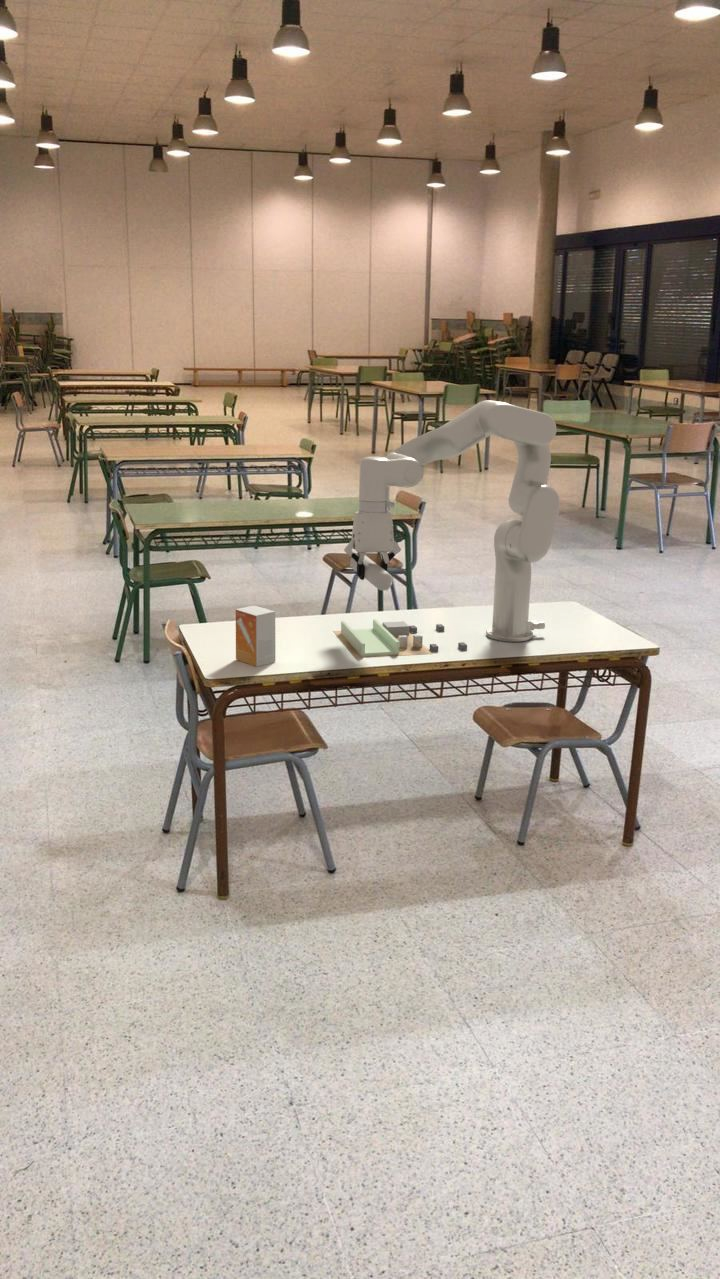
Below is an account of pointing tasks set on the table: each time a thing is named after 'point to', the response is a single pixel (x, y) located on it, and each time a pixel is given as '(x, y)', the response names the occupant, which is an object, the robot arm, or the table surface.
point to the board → (402, 652)
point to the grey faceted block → (397, 628)
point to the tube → (374, 573)
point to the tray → (371, 640)
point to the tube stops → (433, 646)
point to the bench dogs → (416, 641)
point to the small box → (255, 635)
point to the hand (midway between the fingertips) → (371, 577)
